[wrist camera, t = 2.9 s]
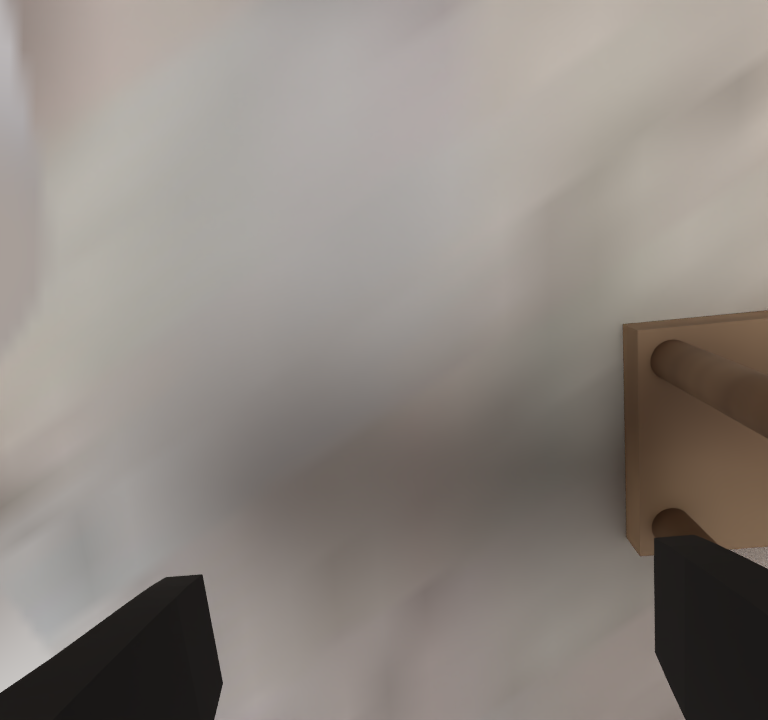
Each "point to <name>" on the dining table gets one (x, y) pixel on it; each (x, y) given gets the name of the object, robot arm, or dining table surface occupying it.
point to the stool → (697, 430)
